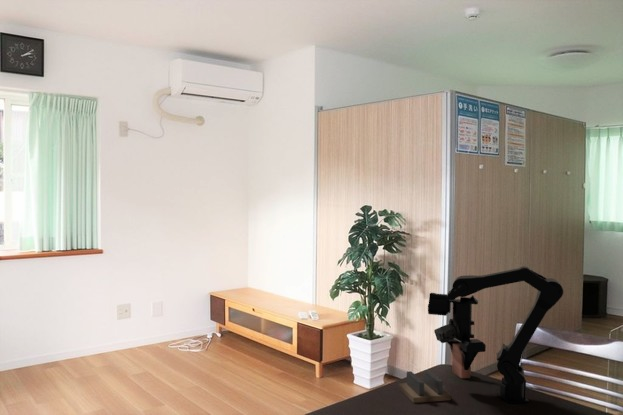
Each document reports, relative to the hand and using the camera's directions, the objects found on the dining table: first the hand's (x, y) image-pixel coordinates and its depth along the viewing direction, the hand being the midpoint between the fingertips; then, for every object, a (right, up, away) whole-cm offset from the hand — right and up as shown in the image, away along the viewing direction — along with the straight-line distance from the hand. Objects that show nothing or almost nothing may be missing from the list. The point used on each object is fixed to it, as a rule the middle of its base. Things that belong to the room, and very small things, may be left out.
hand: (461, 366), depth 162 cm
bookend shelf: (-12, -8, -1) cm, 14 cm away
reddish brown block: (0, -3, 0) cm, 3 cm away
